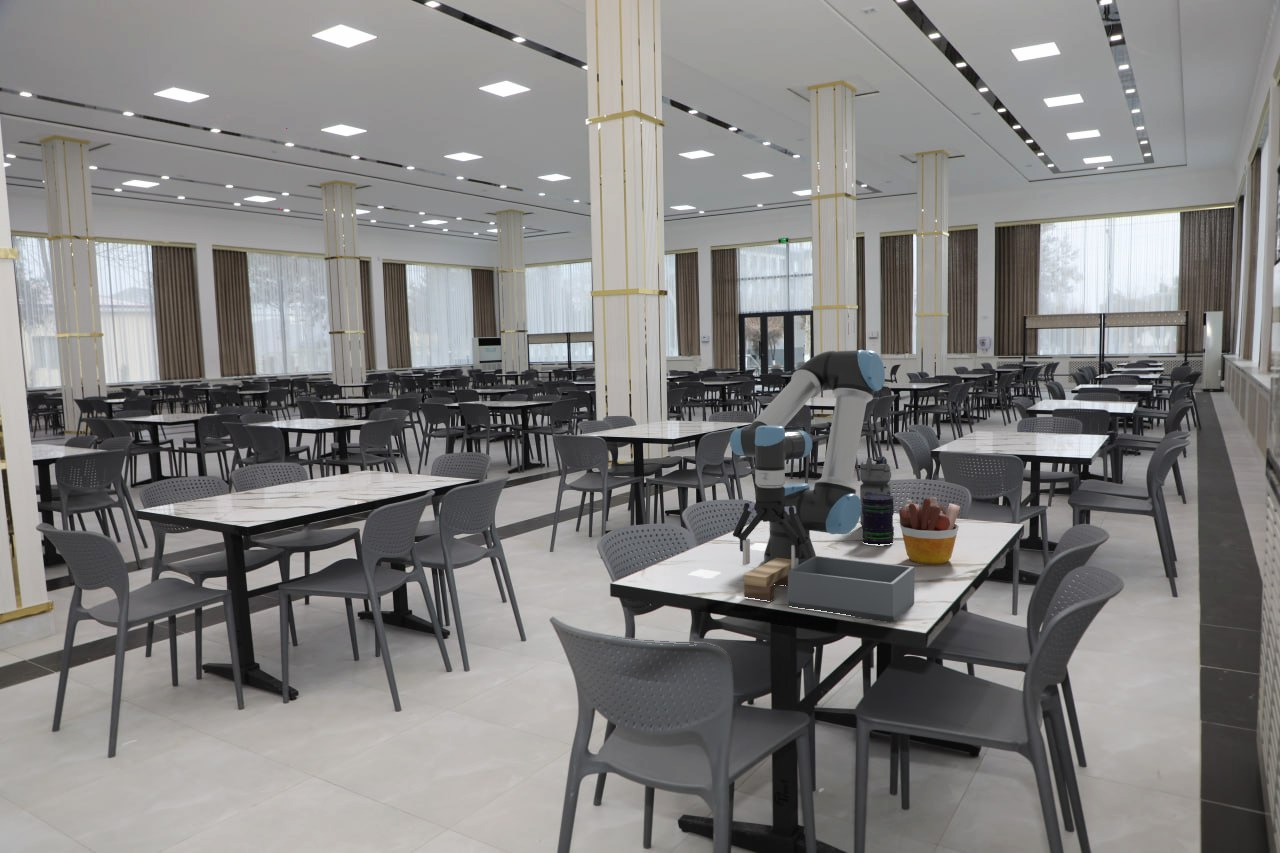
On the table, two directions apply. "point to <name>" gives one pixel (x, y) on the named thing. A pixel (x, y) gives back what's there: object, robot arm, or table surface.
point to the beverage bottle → (874, 479)
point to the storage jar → (877, 519)
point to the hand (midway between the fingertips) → (770, 567)
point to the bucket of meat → (929, 530)
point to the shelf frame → (852, 587)
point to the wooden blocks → (764, 590)
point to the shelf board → (768, 573)
